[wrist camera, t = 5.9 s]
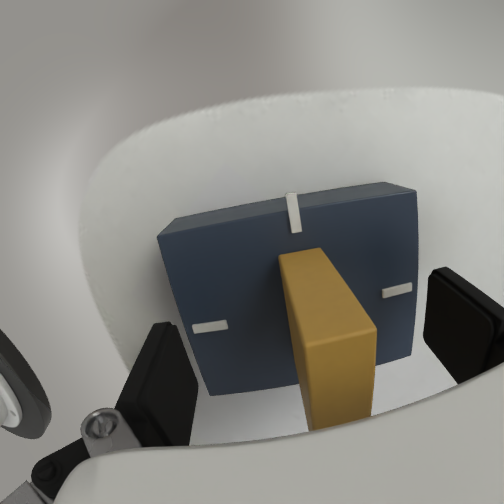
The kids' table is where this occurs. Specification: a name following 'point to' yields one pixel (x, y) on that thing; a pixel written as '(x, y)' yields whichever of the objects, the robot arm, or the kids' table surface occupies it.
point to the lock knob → (328, 340)
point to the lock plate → (270, 282)
